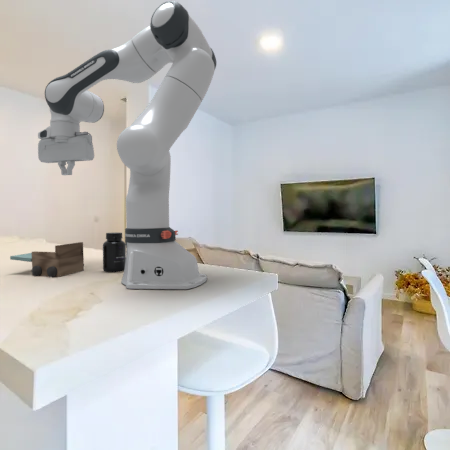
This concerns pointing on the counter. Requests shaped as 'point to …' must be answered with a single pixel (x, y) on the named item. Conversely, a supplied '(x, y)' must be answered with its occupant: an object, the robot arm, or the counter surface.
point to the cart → (59, 261)
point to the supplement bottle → (114, 253)
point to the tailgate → (22, 257)
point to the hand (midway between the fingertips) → (66, 175)
